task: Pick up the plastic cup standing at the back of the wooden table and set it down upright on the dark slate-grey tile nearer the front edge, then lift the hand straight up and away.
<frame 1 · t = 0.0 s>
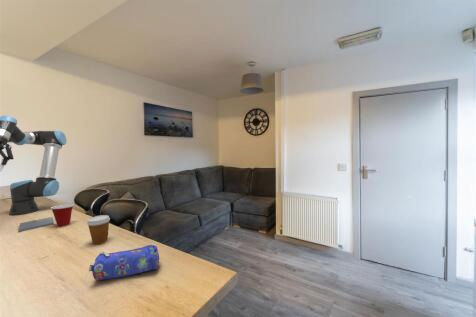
pencil case: (128, 273, 77), on the table
disposable coffee cup: (100, 241, 104), on the table
slate tile: (37, 224, 128), on the table
plastic cup: (64, 225, 127), on the table
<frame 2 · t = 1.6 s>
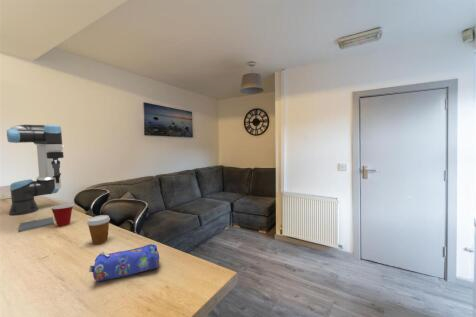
hand: (58, 187, 124), 24 cm above the table, tool pointing down, fingers open, 13 cm apart
nothing on the table moved.
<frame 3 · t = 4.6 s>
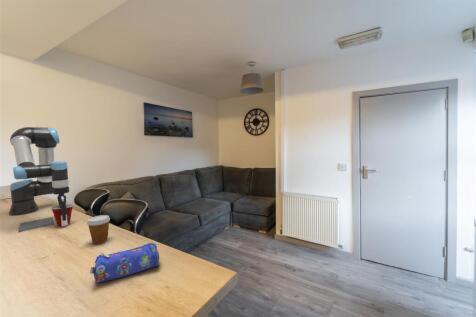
hand: (64, 223, 127), 1 cm above the table, tool pointing down, fingers closed on plastic cup, 9 cm apart
plastic cup: (64, 225, 127), on the table, touching gripper
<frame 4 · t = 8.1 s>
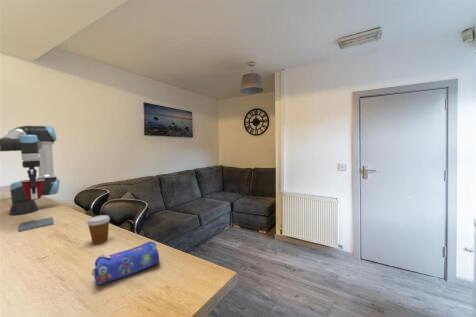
hand: (34, 197, 127), 17 cm above the table, tool pointing down, fingers closed on plastic cup, 9 cm apart
plastic cup: (34, 199, 127), point 16 cm above the table, touching gripper
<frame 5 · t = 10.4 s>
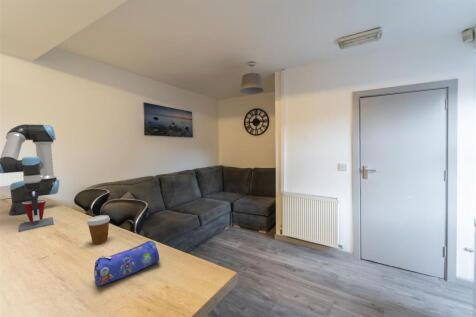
hand: (36, 218, 128), 4 cm above the table, tool pointing down, fingers closed on plastic cup, 9 cm apart
plastic cup: (36, 220, 128), point 3 cm above the table, touching gripper
when the fingers open (3 cm above the table, at t = 11.7 s): plastic cup stays where it is, resting on slate tile.
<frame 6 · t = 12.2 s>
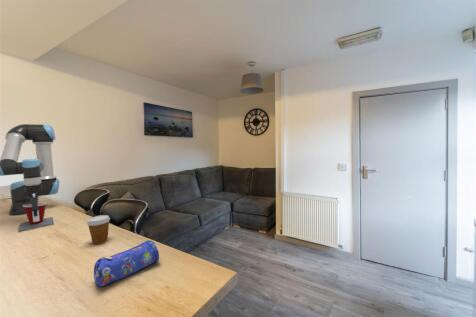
hand: (36, 218, 128), 4 cm above the table, tool pointing down, fingers open, 13 cm apart
plastic cup: (36, 223, 128), point 1 cm above the table, touching slate tile
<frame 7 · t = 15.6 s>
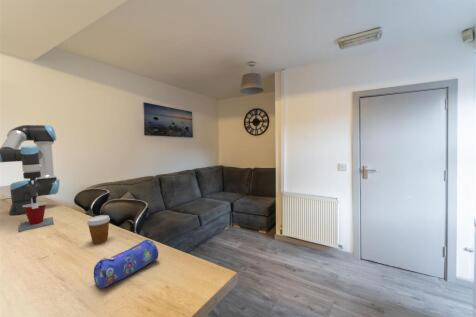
hand: (35, 205, 127), 12 cm above the table, tool pointing down, fingers open, 13 cm apart
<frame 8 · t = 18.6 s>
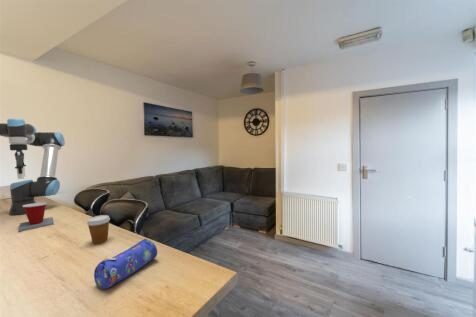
hand: (21, 177, 130), 29 cm above the table, tool pointing down, fingers open, 13 cm apart
at the end: plastic cup inside the target area on the slate tile (0.0 cm from its centre), point 1.0 cm above the slate tile's base; plastic cup tilted 0°; the gripper is holding nothing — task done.
